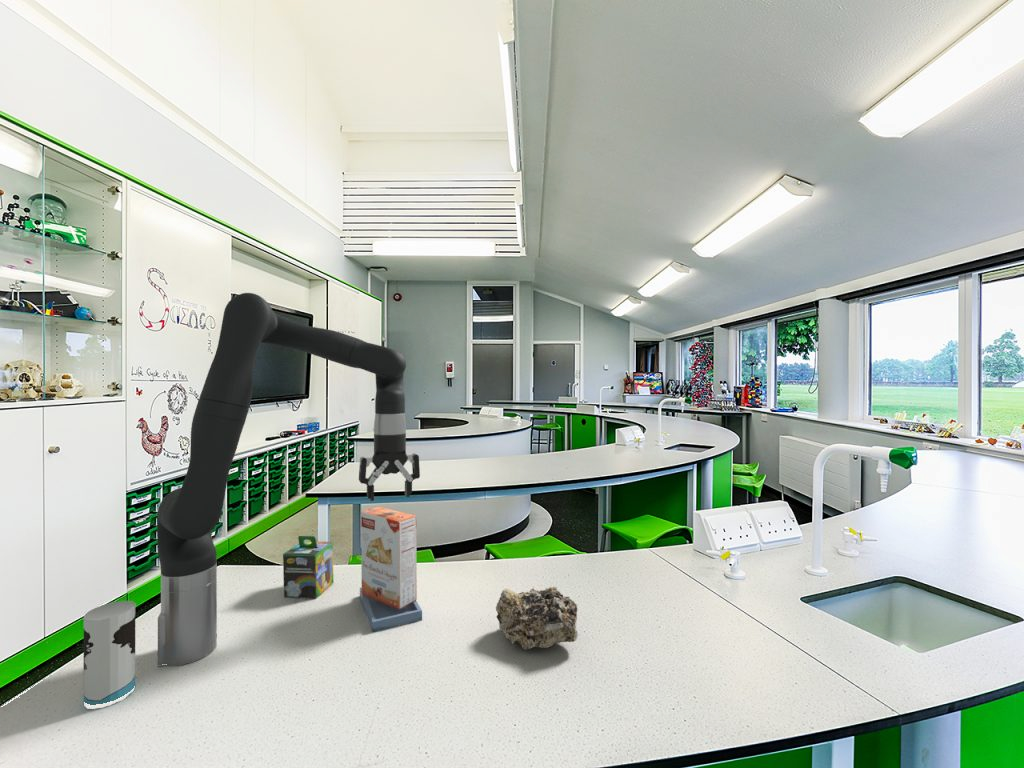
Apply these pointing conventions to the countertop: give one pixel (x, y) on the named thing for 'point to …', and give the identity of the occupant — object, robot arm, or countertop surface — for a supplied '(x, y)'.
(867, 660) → the countertop surface
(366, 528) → the cracker box
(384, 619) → the tray
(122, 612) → the white cylindrical canister
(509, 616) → the mineral specimen
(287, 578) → the chalk box
